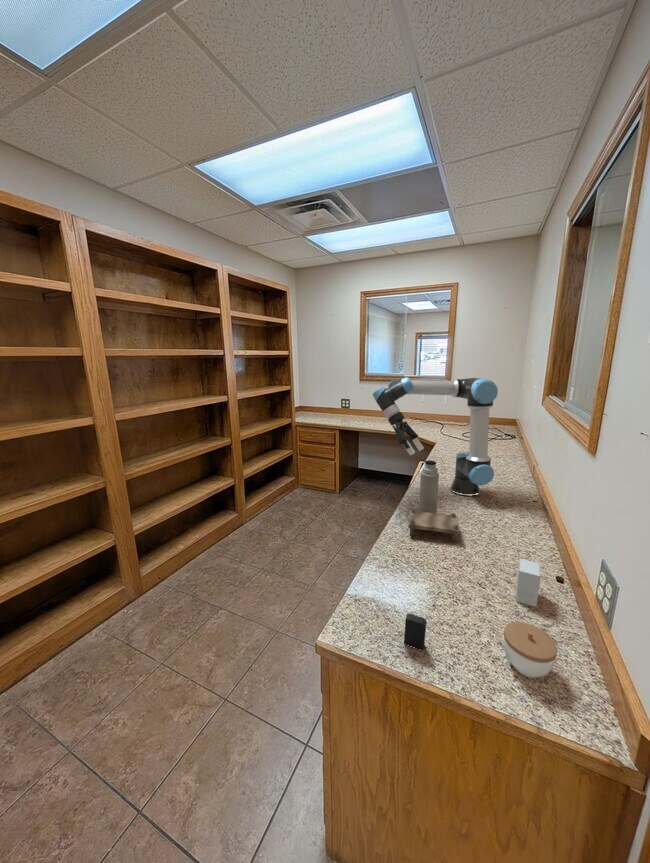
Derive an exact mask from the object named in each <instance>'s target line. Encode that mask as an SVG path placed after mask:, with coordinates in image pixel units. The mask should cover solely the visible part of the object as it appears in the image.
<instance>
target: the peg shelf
mask: <svg viewBox="0 0 650 863" xmlns="http://www.w3.org/2000/svg"><path fill="white" fill-rule="evenodd" d="M408 528H409V537H410V536H411V537H410V538H414V537H415V530H416V529H417V530H421V531H422V530H423V531H431V532H441V533H446V534H447V533H448V534H452V538H451V539H452V540H451V542H452V543H453V544H457V543H458V535H460V533H461V530H460V525H459V520H458V515H457V514H456V513H453V512H452V513H451V514H445V513H428V512H419V510H416V509H415V508H411V510H409V517H408ZM413 536H414V537H413Z"/></svg>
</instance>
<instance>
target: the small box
mask: <svg viewBox="0 0 650 863" xmlns="http://www.w3.org/2000/svg"><path fill="white" fill-rule="evenodd" d="M541 576H542V575H541V564H540V563H539V562H536V561H531V560H527V559H524V558H519V561H518V569H517V578H516V586H515V587H516V589H515V590H516V591H515V602H516V603H517V602H518V603H520V604H524V605H526V606H530V607H534V608H538V600H539V591H540V583H541Z"/></svg>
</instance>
